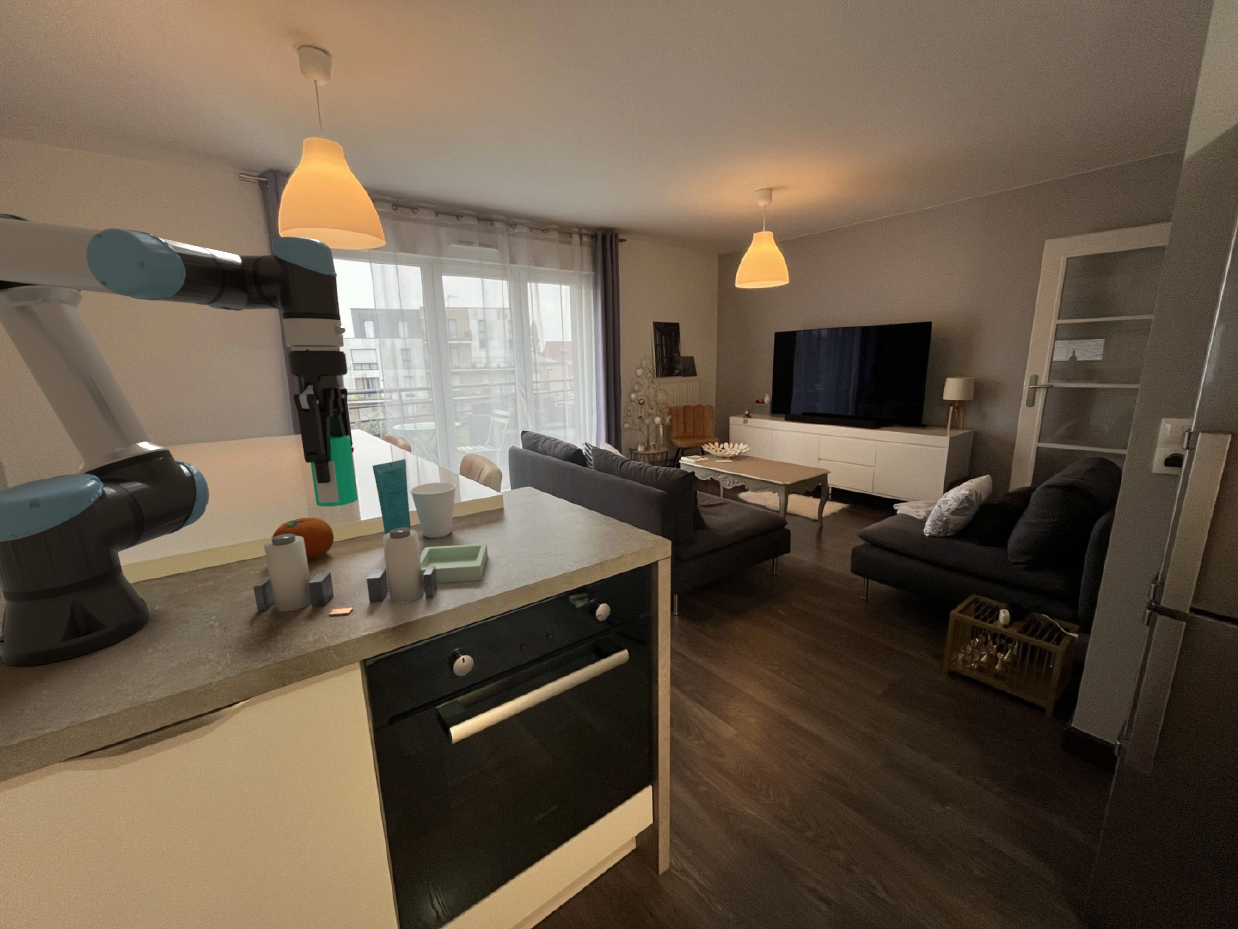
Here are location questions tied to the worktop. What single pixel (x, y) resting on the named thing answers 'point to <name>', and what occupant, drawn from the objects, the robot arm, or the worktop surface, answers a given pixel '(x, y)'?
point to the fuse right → (403, 565)
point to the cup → (434, 507)
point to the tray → (455, 562)
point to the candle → (340, 472)
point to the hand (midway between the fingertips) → (336, 496)
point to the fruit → (310, 535)
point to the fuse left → (288, 572)
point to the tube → (393, 494)
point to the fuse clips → (324, 593)
